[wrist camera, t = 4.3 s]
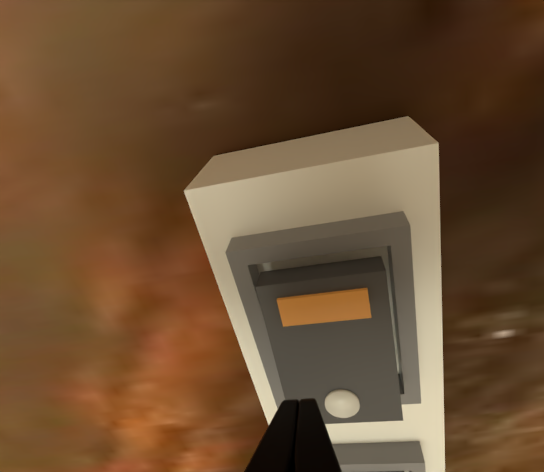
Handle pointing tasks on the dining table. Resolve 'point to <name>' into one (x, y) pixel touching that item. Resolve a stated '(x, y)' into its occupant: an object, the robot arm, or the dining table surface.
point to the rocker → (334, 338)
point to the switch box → (333, 248)
